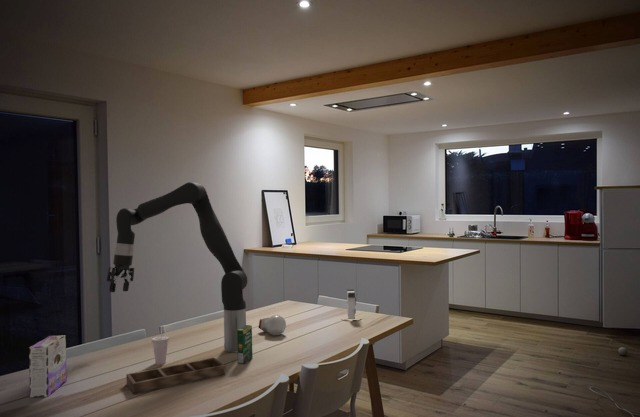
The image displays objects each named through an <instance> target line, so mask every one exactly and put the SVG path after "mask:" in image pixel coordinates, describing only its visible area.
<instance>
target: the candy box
mask: <svg viewBox="0 0 640 417" xmlns="http://www.w3.org/2000/svg"><path fill="white" fill-rule="evenodd" d="M66 341H67V339H66V335H65V334H64V335H62V334H61V335H59V334H58V335H48V336H47V337H45V338H43V339H42V340H40V341H38V342H36V343H35V344H33V345H31V346H29V347H28V352H29V353H28V354H29V355H28V357H29V358H28V359H29V363H28V364H29V366H28V367H29V370H28V371H29V398H48V397H49V396H51V395H52V394H53V393H54V392H55V391H57V390H58V389H59V388H61V387H62V385H64V384H65V383H66V382H67V377H68V376H67V342H66Z"/></svg>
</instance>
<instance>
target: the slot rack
mask: <svg viewBox="0 0 640 417" xmlns="http://www.w3.org/2000/svg"><path fill="white" fill-rule="evenodd" d="M225 367H226V366H225V364H224V363H222V362H221V361H219V360H218V359H216V358H215V357H209V358H205V359H198V360H193V361H189V362H184V363H183V362H182V363H178V364H174V365H168V366H163V367H158V368H152V369H145V370H141V371H137V372H136V371H135V372H129V373H126V378H125V379H126V386H127V387H128V389H129V391H130V392H131V393H132V395H134V396H135V395H139V394H143V393H144V394H145V393H148V392H152V391H156V390H162V389H167V388H171V387H176V386H180V385H181V386H182V385H184V384H190V383H194V382H199V381H204V380H208V379H213V378H217V377H222V376H225V375H226V369H225Z"/></svg>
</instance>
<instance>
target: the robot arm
mask: <svg viewBox="0 0 640 417" xmlns="http://www.w3.org/2000/svg"><path fill="white" fill-rule="evenodd" d="M185 204H191V205H192V207H193V209H194V211H195V213H196V216H197V218H198V221H199V229H200V230H199V231H200V234H201V237H202V240H203V242H204V244H205V246H206V248H207V249H208V251H209V252H210V253H211V254H212V256H214V258H215V259H216V260H217V261H218V262H219V264H220V266H221V267H222V269H223V272H224V275H223V276H222V277H221V284H220V292H221V303H222V306H223V341H224V342H223V343H224V344H223V346H224V347H223V348H224V351H225V352H228V353H238V342H237V330H239V329H241V328H242V327H244V326H246V325H247V312H246V311H247V309H246V308H247V306H246V300H244V296H243V294H244V292H243V290H244V289H245V288H246V287H247V285H248V276H247V274H246V273H245V270H244V269H243V268H242V266H241V263H240V262H239V260H238V259H237V257H236V256H235V252H234V250H233V248H232V245H231V243H230V242H229V240H228V237H227V235H226V233H225V230H224V228H223V227H222V225H221V223H220V221H219V219H218V216H217V214H216V213H215V211H214V209H213V206H212V204H211V200H210V199H209V195H208V192H207V190H206V188H205V186H204V185H202V184H200V183H198V182H193V181H190V182H186V183H184V184H182V185H181V186H179V187H177V188H175V189H174V190H172V191H170V192H167V193H166V194H164V195H161V196H159V197H156V198H153V199H150V200H148V201H144V202H141V203H140V204H139V205H138V206H137V208H134V209H133V208H132V209H131V208H128V207H125V208H121V209H119V211H118V212H117V214H116V220H115V223H116V231H117V238H116V244H115V248H114V249H115V250H114V255H113V262H112V263H113V265H114V267H110V266H109V267H108V273H107V277H106V281H107V283H109V292H110V293H115V292H116V289H117V288H116V286H117V282H118V280H120V279H123V287H122V291H123V292H128V291H129V289H130V288H129V287H130V283H131V282H133V281H134V279H135V278H134V275H135V268H134V267H130V266H133V265H132V264H133V257H134V252H135V250H134V246H135V236H136V234H135V232H134V231H133V230H132V226H135V225H139V224H141V223H143V222H144V221H146V220H147V219H149V218H153V217H155V216H158V215H161V214H163V213H164V212H166V211H168V210H169V209H172V208H173V207H178V206H180V205H185Z"/></svg>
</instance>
